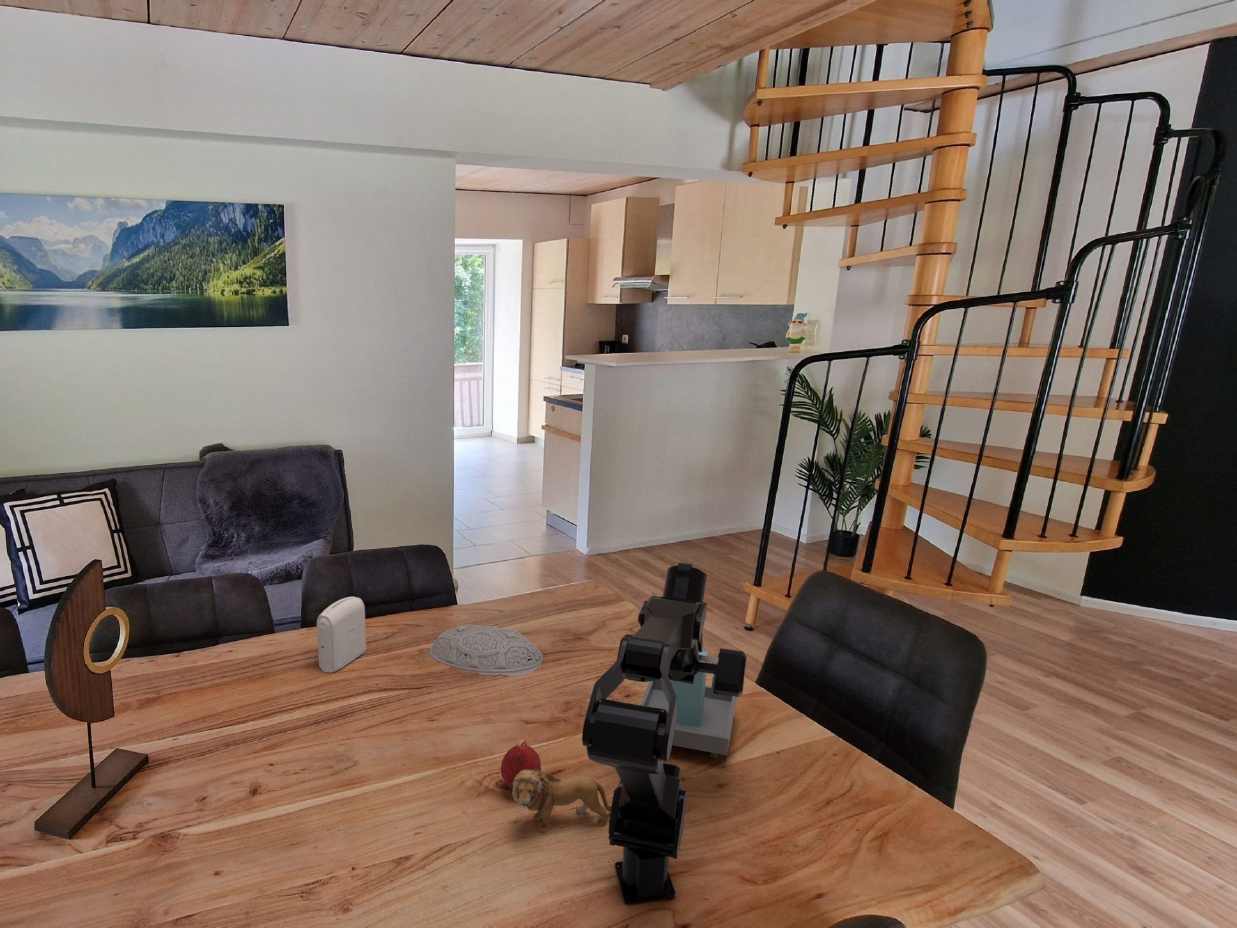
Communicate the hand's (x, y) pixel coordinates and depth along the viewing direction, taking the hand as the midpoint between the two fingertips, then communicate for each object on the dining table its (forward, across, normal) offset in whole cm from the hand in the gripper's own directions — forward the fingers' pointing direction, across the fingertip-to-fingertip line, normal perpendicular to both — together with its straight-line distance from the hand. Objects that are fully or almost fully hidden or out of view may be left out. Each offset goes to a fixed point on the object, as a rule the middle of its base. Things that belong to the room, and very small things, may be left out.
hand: (684, 681), depth 117 cm
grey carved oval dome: (+25, +42, -6) cm, 50 cm away
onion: (-2, +21, +20) cm, 29 cm away
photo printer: (+17, +67, +2) cm, 69 cm away
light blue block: (+12, 0, +2) cm, 12 cm away
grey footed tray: (+14, 0, +5) cm, 14 cm away
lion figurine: (-5, +13, +24) cm, 28 cm away
